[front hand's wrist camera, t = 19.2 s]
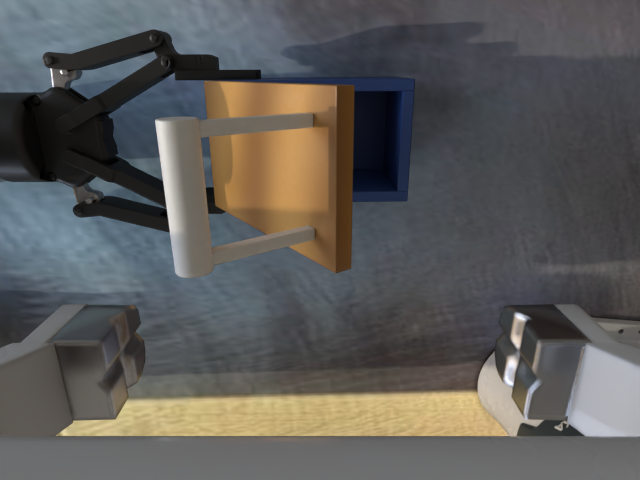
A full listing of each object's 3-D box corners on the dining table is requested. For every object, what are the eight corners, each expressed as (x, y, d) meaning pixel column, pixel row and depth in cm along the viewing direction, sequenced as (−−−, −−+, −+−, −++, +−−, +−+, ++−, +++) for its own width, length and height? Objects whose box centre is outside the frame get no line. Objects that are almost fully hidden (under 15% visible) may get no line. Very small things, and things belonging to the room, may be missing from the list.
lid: (354, 84, 21) (169, 90, 16) (351, 268, 25) (196, 317, 20) (217, 80, 34) (88, 83, 29) (227, 203, 37) (113, 224, 32)
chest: (395, 76, 43) (415, 78, 34) (390, 175, 46) (407, 201, 37) (235, 78, 43) (212, 80, 34) (242, 176, 46) (222, 202, 37)
